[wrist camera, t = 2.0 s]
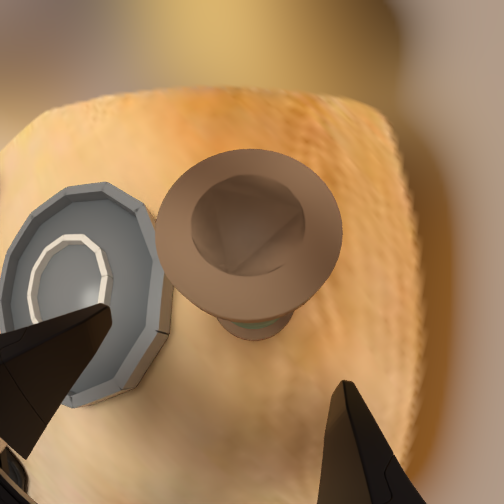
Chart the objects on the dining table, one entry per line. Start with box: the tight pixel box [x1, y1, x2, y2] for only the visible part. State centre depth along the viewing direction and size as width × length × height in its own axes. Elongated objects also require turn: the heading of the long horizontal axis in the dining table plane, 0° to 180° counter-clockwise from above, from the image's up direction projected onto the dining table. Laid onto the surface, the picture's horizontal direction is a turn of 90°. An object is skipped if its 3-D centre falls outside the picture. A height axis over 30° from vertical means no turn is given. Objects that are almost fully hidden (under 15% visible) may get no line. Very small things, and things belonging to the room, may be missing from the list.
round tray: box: [0, 182, 173, 408], centre depth 20 cm, size 20×20×2 cm
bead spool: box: [155, 149, 343, 341], centre depth 15 cm, size 6×6×13 cm
